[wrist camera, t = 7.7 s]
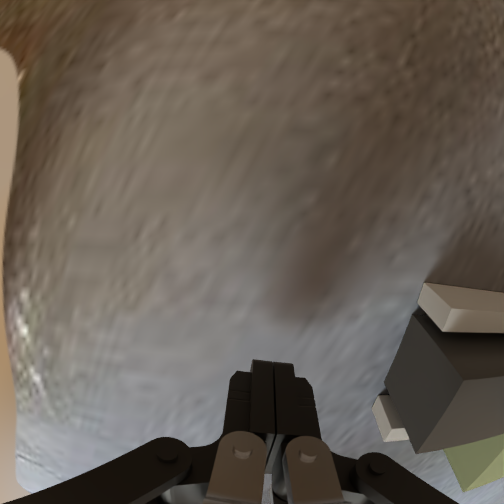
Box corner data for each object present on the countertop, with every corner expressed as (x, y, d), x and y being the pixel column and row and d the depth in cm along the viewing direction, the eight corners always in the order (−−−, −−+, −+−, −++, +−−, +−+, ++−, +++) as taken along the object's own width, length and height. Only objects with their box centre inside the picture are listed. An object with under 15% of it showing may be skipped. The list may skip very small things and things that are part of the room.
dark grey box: (505, 319, 13) (556, 366, 8) (477, 376, 14) (516, 429, 10) (411, 313, 13) (463, 380, 8) (383, 381, 14) (415, 454, 9)
